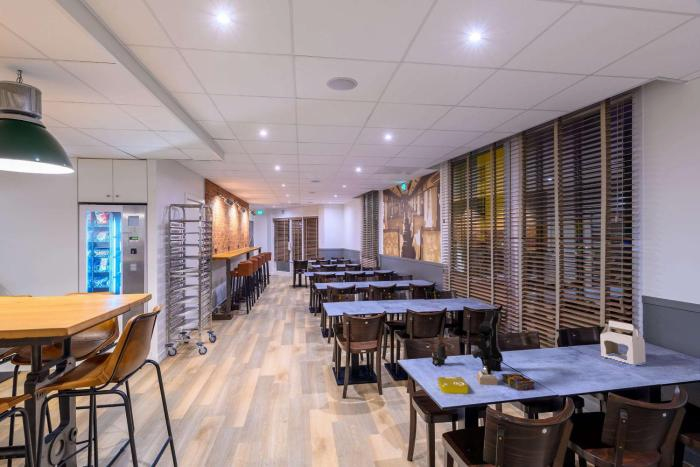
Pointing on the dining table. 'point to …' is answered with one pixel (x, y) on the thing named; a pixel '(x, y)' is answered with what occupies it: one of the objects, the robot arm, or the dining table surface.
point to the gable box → (633, 342)
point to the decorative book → (518, 381)
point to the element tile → (453, 385)
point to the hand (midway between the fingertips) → (486, 371)
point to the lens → (485, 370)
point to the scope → (439, 356)
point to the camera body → (486, 379)
